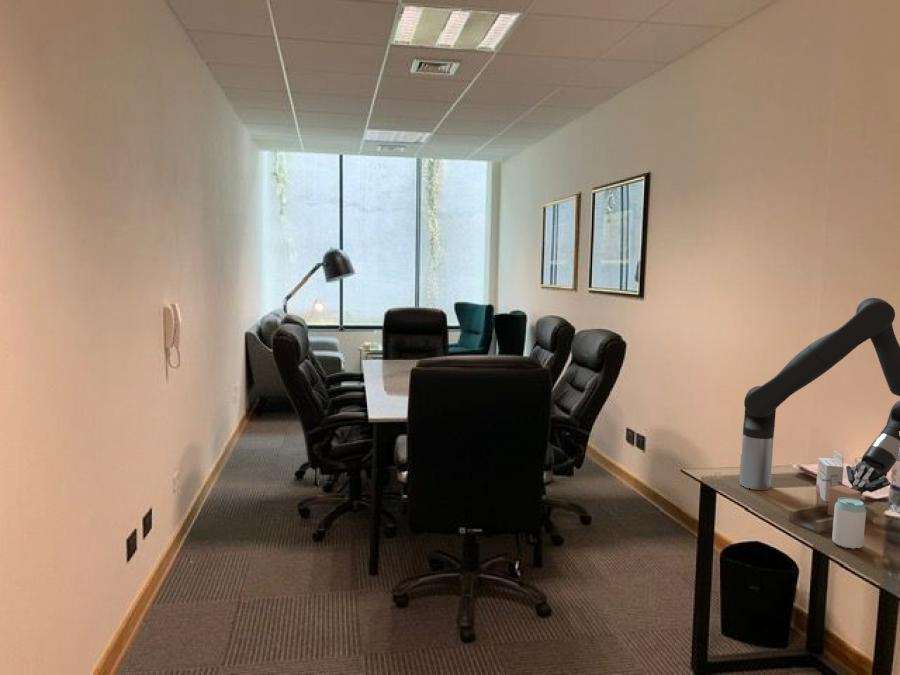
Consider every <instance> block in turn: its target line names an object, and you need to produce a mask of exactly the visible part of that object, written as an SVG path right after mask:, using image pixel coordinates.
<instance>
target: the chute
mask: <svg viewBox="0 0 900 675" xmlns="http://www.w3.org/2000/svg"><path fill="white" fill-rule="evenodd" d="M874 512H875V511H874V510H871V509H866V518H865V525H866V524H867V525H868V524H872V523H873V521H874ZM827 513H828V502H826V503H820V504H815V505H809V506H805V507H800V508H794V509H789V513H788V514H789V517H788V522H790V523H792V524H794V525H797V526H799V527H801V528H803V529H806V530H809V531H811V532H813V533H815V534H817V535H819V534H825V533H829V532H833V522H834V516H832V515H829V514H827Z"/></svg>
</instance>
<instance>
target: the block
mask: <svg viewBox="0 0 900 675" xmlns="http://www.w3.org/2000/svg"><path fill="white" fill-rule="evenodd" d="M842 497H846V498H853V499H857V500H860V501H861V497H862V495H861V492H859V491H856V490H853V489H851V487H848V486H844V485H843V484H842V485H841V486H835V487H830V488H829V501H828V502H827V503H828V513H827V514H829V515H832V516H834V509H835V504H836V503H837V502H838V499H839V498H842Z"/></svg>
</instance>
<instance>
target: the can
mask: <svg viewBox="0 0 900 675" xmlns="http://www.w3.org/2000/svg"><path fill="white" fill-rule="evenodd" d="M864 505H865V502H863V501H862V500H861V499H860V500H857V499H853V498H846V497H842V498H839V499H838V502H837V503H836V504H835V509H834V522H833V531H832V537H831V540H832V542H833V543H834V544H836V545H837V546H838V547H840V546H841V547H840V548H843V547H845V548H844V549H847V548H851V549H850V550H854V549H853V548H858V549H861V548H863V547H864V540H865V539H864V538H865V528H866V527H865V526H866V524H865V518H866V510H867V509H866V507H865V506H864Z"/></svg>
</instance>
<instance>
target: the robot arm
mask: <svg viewBox="0 0 900 675" xmlns="http://www.w3.org/2000/svg"><path fill="white" fill-rule="evenodd" d="M895 319H896V312H895V309H894V307H893V306H892V305H891V304H890V303H889V302H888V301H886V300H884V299H882V298H878V297H877V298H876V297H871V298H870V297H869V298H865V299H864V300H863V301H861V302H860V303H859V304H858V306H857V308H856V311H855V314H854V315H853V316H852V317H851V318H850V319H849V320H847V321H846V322H845V323H844V324H843V325H842V326H841V327H839V328H837V329H836V330H834V331H832V332H830V333H828V334H825V335H824V336H822V337H820V338H818V339H816V340H815V341H813V342H811V343H810V344H809V345H807V346H806V347H805V348H803V349H802V350H800V352H798V353H797V354H796V355H795V356H794V357H793V358H791V360H789V361H788V362H787V364H785V366H784V367H783V368H782V369H781V370H780V371H779V372H778V373H777V374H776V375H775V376H773V378H771V379H770V380H768V381H767V382H765V383H764V384H763V385H757V386H754V387H752V388H750V389H749V390H748V391H747V393H746V394H745V397H744V402H743V404H744V415H743V416H744V417H743V425H742V426H743V427H742V442H741V443H742V444H741V445H742V446H741V454H740V463H739V464H740V465H739V485H740V484H741V485H742V486H741V485H740V486H741V487H743V486H744V487H743V488H746V489H749V488H750V489H749V490H755V491H768V490H769V489H771V480H772V467H773V466H772V465H773V455H774V454H773V451H774V450H773V449H774V437H775V436H774V435H775V427H776V425H775V424H776V413H777V412H776V410H777V408H778V407H779V406H780V405H782V404H783V403H784V402H785V401H786V400H787V399H788V398H790V397H791V396H792V395H793V394H795V393H796V392H798V391H799V390H801V389H803V388H805V387H806V386H808V385H809V384H811V383H812V382H813V381H814V382H815V380H817V379H818V378H820V377H821V376H822V375H824V374H825V373H827V372H828V371H829V370H830V369H832V368H833V367H834V366H835V365H837V364H838V363H839V362H840V361H842V360H843V359H844V358H846V357H847V356H848V355H849V354H850V353H851V352H852V351H853V350H855V349H856V348H857V347H859V346H860V345H861V344H863V343H864V342H866V341H867V340H869V339H870V341H871V343H872V345H873V348H874V350H875V353H876V355H877V358H878V361H879V364H880V367H881V371H882V373H883V376H884V379H885V381H886V383H887V386H888V388H889V390H890V392H891V393H892V394H893V395H895V396H898V397H900V343H899V341H898V339H897V337H896V334H895V331H894V328H893V322H894V320H895ZM899 431H900V400H898V401H896V402H894V404H893V405H892V407H891V409H890V411H889V416H888V418H887V422H886V425H884V428H883V429H882V430H881V432H880V433H879V434H878V436H877V437H876V438H874V440H873V442H872V443H871V444H870V446H869V447H868V449H867V450H866V451H865V453H864V454H863V455H862V457H861V461H860V462H858V463H857V464H856V466H850V465H846V467H845V469H846V474H847V480H848V482H849V483H850V485H851V487H850V488H851V489H853V490H856V491H859V492H861V496H862V495H863V494H864V493H865V492H868V493H873V492H876V491H879V490H881V489H884V488H887V487H889V486H891V481H890V480H889V479H888V478H887V476H888V473H890V471H891V470H892V468H893V466H894V465H895V464H896V462H897V461H898V459H899V458H898V453H899V447H900V445H899V444H900V436H899Z"/></svg>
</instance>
